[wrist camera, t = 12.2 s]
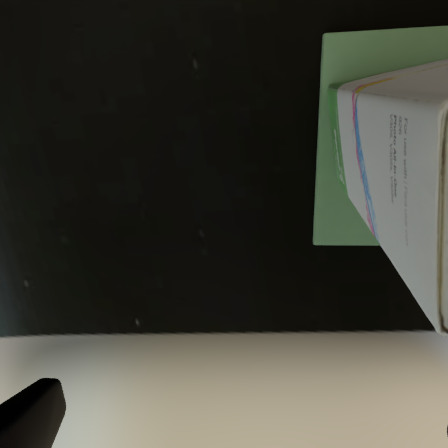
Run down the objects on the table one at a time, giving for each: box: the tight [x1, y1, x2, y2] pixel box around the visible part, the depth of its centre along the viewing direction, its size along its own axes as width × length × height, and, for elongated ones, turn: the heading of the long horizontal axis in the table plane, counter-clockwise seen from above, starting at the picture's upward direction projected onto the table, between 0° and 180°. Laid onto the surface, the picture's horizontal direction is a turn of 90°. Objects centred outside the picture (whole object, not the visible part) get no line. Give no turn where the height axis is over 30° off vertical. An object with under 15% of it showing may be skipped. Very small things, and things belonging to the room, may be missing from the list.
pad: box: [313, 26, 448, 245], centre depth 17 cm, size 10×10×1 cm
